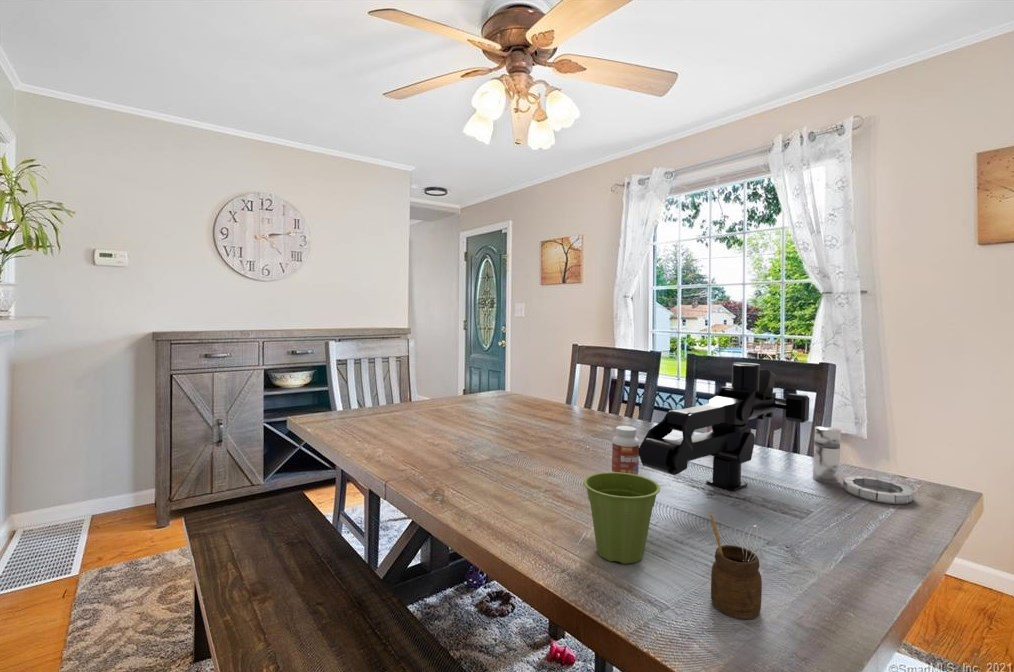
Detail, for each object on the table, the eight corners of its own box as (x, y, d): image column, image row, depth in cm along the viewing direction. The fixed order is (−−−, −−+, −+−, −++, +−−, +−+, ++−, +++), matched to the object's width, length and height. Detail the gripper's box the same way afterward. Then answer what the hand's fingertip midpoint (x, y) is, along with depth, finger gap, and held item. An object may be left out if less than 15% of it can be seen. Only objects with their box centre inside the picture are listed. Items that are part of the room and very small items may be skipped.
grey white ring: (902, 509, 94) (903, 499, 94) (835, 491, 103) (836, 483, 103) (918, 496, 101) (919, 487, 101) (854, 480, 110) (854, 472, 110)
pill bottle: (620, 479, 110) (621, 431, 109) (606, 471, 116) (607, 425, 115) (643, 477, 112) (644, 430, 111) (629, 468, 117) (630, 424, 117)
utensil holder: (768, 623, 59) (771, 528, 58) (714, 617, 60) (717, 523, 59) (752, 596, 64) (755, 508, 64) (703, 590, 66) (705, 505, 65)
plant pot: (671, 552, 76) (673, 482, 76) (636, 582, 67) (638, 504, 67) (605, 529, 84) (607, 466, 84) (567, 553, 75) (568, 483, 75)
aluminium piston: (833, 485, 107) (836, 432, 107) (809, 479, 111) (811, 428, 111) (842, 480, 110) (844, 429, 110) (817, 474, 114) (819, 425, 114)
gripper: (794, 376, 104) (823, 372, 114) (714, 368, 119) (745, 365, 129) (792, 426, 105) (821, 418, 114) (712, 412, 120) (743, 406, 129)
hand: (780, 400), depth 122 cm, fingers open, 9 cm apart
